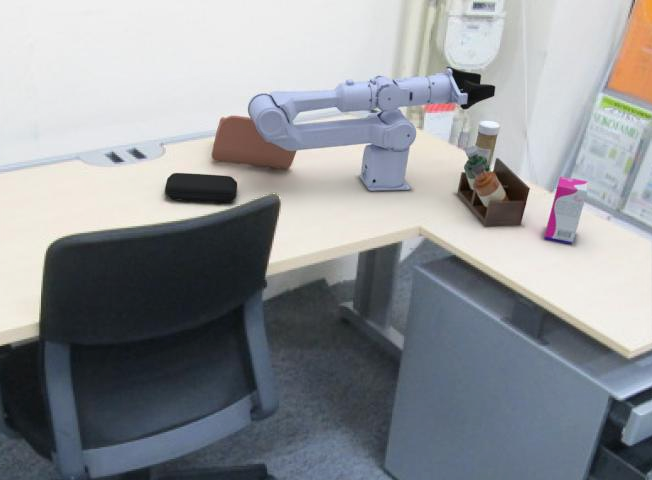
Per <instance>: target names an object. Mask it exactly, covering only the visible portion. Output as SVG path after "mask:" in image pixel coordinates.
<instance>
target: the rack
mask: <svg viewBox="0 0 652 480" xmlns="http://www.w3.org/2000/svg"><path fill="white" fill-rule="evenodd" d="M492 170H493V171H491V172H494V173H495V174H496V176H497V178H498V179H499V181H500V183H501V185H502V187H503V188H504V190H505V192H506V194H507V196H508V198H509V201H489V204H488V208H487V210H486V208H485V207H484V205H483V204H482V202H481V200H480V198H479V196H478V195H477V193H476V191H475V189H474V192H473V195H472V192H471V189H470V186H469V183H468V180H467V177H466V173H465V171H461V173H460V178H459V182H458V188H457V192H456V196H458V197H459V199H460V200H461V201H462V202H463V203H464V204H465V205H466V206H467V208H468V209H469V210H470V211H471V212H472V213H473V214H474V216H475V217H476V218H477V219H478V220H479V222H481V224H482V225H483V226H484V227H508V226H509V227H510V226H521V225H522V221H523V218H524V214H525V210H526V206H527V201H528V197H529V195H530V194H529V193H530V190H531V188H530V186H528V184H526V183H525V182H524V181H523V180H522V179H521V178H520V177H519V176H518V175H517V174H516V173H515V172H513V170H512V169H510V168H509V166H507V164H505V163H504V162H503V161H502V160H501V159H500V158H498V157H496V158H495V160H494V166H493V169H492Z"/></svg>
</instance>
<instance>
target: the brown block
mask: <svg viewBox="0 0 652 480" xmlns="http://www.w3.org/2000/svg"><path fill="white" fill-rule="evenodd" d="M297 151H298V150H296V151H287V150H285V149H283V148H281V147H279V146H277V145H275V144H273V143H271V142H266V141H265V140H264V138H263V137H262V136H261V135H260V134H259V132H258V131H257V129H256V126H255V124H254V122H253V120H252V119H251V117H250V116H242V115H241V116H240V115H228V116H226V117H220V119H219V121H218V125H217V129H216V132H215V137H214V141H213V146H212V150H211V158H212V160H214V161H216V162H223V163H231V164H240V165H248V166H257V167H265V168H266V167H267V168H274V169H283V170H288V169H290V168H291V166H292V164H293V162H294V159H295V158H296V157H295V156H296V153H297Z"/></svg>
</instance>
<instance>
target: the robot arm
mask: <svg viewBox="0 0 652 480" xmlns="http://www.w3.org/2000/svg"><path fill="white" fill-rule="evenodd" d="M481 81H482V75H481V73H477V72H469V71H463V70H460V69H456V68H454V67H453V66H446V68H445V73H444V72H435V73H434V74H433V75H422V76H410V77H402V78H393V79H391V78H389V77H388V76H384V75H376V76H373V78H369V80H365V81H354V80H353V79H346V80H345V82H342V83H341V82H340V83H339V84H338V85H337V86H336V87H335V88H334V89H328V90H326V89H325V90H298V91H297V90H296V91H283V90H282V91H281V90H275V91H270V92H269V93H266V92H259V93H257V94H255V95H253V97H251V98H250V100H249V102H248V105H247V113H248V117H249V118H251V119H252V120H253V122H254V124H255V126H256V129H257V131H258V132H259V134H260V135H261V136H262V137H263V138H264V140H265V141H266V142H271V143H273V144H275V145H277V146H279V147H281V148H283V149H285V150H287V151H296V150H297V151H305V150H316V149H324V148H336V147H345V146H347V147H348V146H356V145H365V146H364V148H363V153H362V154H363V155H362V161H361V162H362V163H361V170H360V174H359V178H360V180H361V182H362V183H363V184H364V186H365V188H366V189H367V190H368V191H370V192H374V191H375V192H377V191H378V192H380V191H381V192H382V191H409V190H411V186H409V185H408V183H407V182H406V180H405V179H406V174H407V167H408V161H409V155H410V149H411V146H412V145H413V144H414V142H415V141H416V137H417V129H416V126H415V125H414V124H413V122H411V121H410V120H409V119H408V118H407V117H406V116H405V115H404V114H403V112H402V110H401V109H399V108H403V107H417V106H428V105H439V104H446V105H450V104H456V105H457V106H460V108H461V109H462V110H468V109H470V108H471V107H472V106H474V105H475V104H476V105H477V104H478V103H479V102H480V103H481V102H483V101H485V100H487V99H490V98H493V97H495V93H496V86H495V85H493V84H487V83H484V84H483V83H481ZM331 108H336V109H337V110H338V111H339V112H341V113H351V112H360V111H361V112H362V111H371V110H375V109H378V110H379V111H377V112H371V113H369V115H367V116H366V117H359V118H348V119H338V120H328V121H327V120H326V121H316V122H306V123H293V122H294V120H295V119H296V118H297V117H298V115H299V114H300V113H304V112H305V113H306V112H311V111H317V110H324V109H325V110H326V109H331ZM297 151H296V152H297Z"/></svg>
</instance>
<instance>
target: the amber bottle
mask: <svg viewBox="0 0 652 480" xmlns="http://www.w3.org/2000/svg"><path fill="white" fill-rule="evenodd" d="M472 172H473V174H474V175H475V176H476V178H475V181H474V183H473V187H474V189H475V191H476V193H477V195H478V196H479V198H480V200H481V202H482V204H483V205H484V207H485V208H486V210H487V208H488V204H489V201H509V198H508V196H507V194H506V192H505V190H504V188H503V187H502V185H501V183H500V181H499V179H498V178H497V176H496V174H495V173H494V172H489V171H485V167H484V165H483V164H481V163H480V164H477V165H475V166H474V167H473V168H472Z"/></svg>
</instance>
